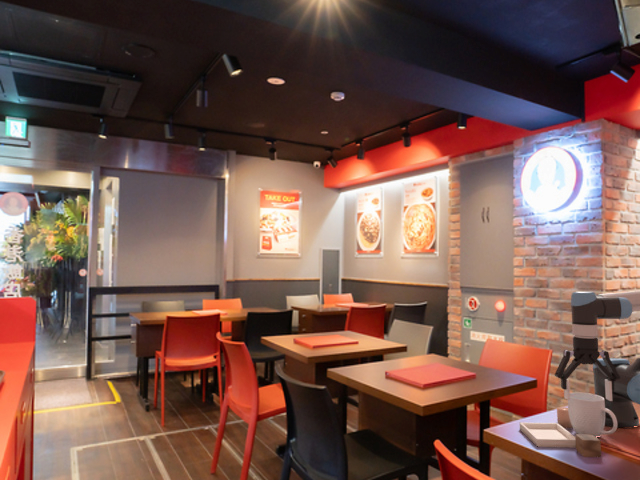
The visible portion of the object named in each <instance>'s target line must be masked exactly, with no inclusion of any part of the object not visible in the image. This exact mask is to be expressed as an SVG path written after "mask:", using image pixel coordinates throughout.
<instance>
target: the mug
mask: <svg viewBox="0 0 640 480" xmlns="http://www.w3.org/2000/svg"><path fill="white" fill-rule="evenodd" d="M567 408H568V412H569V418H570V421H571V424H572V427H573V428H572V429H573V431H574V432H575V434H586V435H593V436H595V437H596V436H600V437H601V436H602V435H612V434H614V433H615V432H616V431H617V428H618V427H617V419H616V417H615V415H614V413H613V412H612V411H610V410H609V409H607V408H605V401H604V398H603V397H601V396H599V395H595V393H589V392H581V391H580V392H570V400H567ZM605 412H607V413H609V415H610V416H611V417H612V420H613V427H612V428H611V429H610V430H607V431H606V430H604V429H605V426H606V425H605Z"/></svg>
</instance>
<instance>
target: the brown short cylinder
mask: <svg viewBox="0 0 640 480" xmlns="http://www.w3.org/2000/svg"><path fill="white" fill-rule="evenodd" d="M556 417H557V423H558V424H559V425H561V426H562V427H563V428H564V429H573V427H572V424H571V421H570V418H569V412H568V407H564V406H561V407H560V406H559V407H556Z"/></svg>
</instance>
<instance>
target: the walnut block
mask: <svg viewBox="0 0 640 480" xmlns="http://www.w3.org/2000/svg"><path fill="white" fill-rule="evenodd" d="M574 436H575V439H576V448H575V450H576V452H578V454H580V455H581V456H582V457H584V458H602V448H601V440H600V439H599V438H596V437H595V436H593V435H586V434H576V433H575V434H574Z"/></svg>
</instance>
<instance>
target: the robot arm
mask: <svg viewBox="0 0 640 480" xmlns="http://www.w3.org/2000/svg"><path fill="white" fill-rule="evenodd" d="M570 307H571V309H570V310H571V321H572V322H571V324H572V325H571V326H572V330H571V331H572V335H573V337H572V346H573V350H572V351H571V350H567V349H564V350H563V356H562V358H561V360H560V362H559V364H558V367H557V368H556V371H555V373H554V377H556V378H558V379H560V387H561V389H563V395H564V397H563V398H564V399H566V401H568V400H570V393H571V389H570V388H571V387H570V380H569V379H568V378H569V377H570V376H571V375H572V374H573V372H574V371H575V370H576V369H577V368H578V367H579V366H580V365H581V364H582V365H591V366H592V372H593V384H594V385H593V388H594V394H595V395H599V396H601V397H603V398H604V401H605V408H607V409H609V410H610V411H612V412H613V413H614V415H615V417H616V419H617V428H619V427H634V426H638V425H639V426H640V418H639V416H638V412H637V411H636V408H635V406H634V404H633V402H634V403H636V404H637V405H640V357H639V356H638V357H637V358H636V359H635V360H634V361H633V362H632V363H630V360H629V359H627V358H619V357H618V358H615V357H613V358H611V357H610V353H609V351H606V350H601V351H599V339H598V338H597V337H598V336H599V334H598V333H599V332H598V320H625V319H629V318H630V317H631V316H632V314H633V312H640V290H633V291H622V292H621V291H620V292H611V293H610V292H609V293H601V294H600V293H599V294H596V293H595V292H594V291H574V292H572V293H571V297H570ZM572 356H573V357H574V358H573V359H572V360H571V359H570V358H572ZM570 360H571V363H570V364H569V361H570ZM568 364H569V365H568ZM604 426H608V427H612V428H613V420H612V417H611V416H610V415H609V413H607V412H605V425H604ZM639 426H638V427H639Z"/></svg>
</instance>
